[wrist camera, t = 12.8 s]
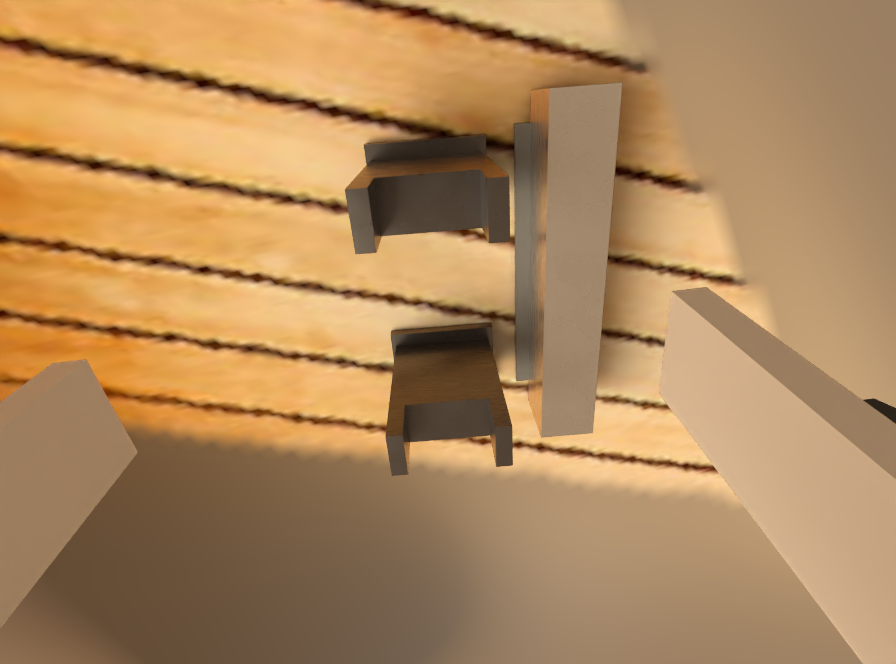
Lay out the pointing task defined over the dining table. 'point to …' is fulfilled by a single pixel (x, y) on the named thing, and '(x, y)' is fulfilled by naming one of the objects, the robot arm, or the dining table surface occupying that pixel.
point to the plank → (522, 246)
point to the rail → (569, 249)
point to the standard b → (445, 391)
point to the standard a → (428, 191)
